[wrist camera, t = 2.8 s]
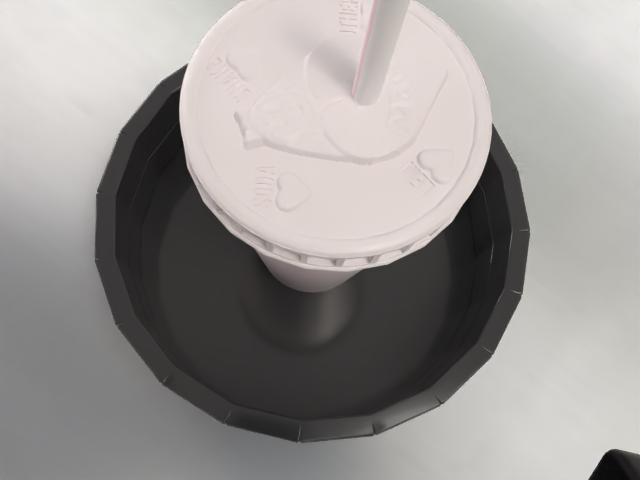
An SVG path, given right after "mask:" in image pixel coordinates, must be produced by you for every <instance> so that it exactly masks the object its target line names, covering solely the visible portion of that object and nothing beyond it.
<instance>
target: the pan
mask: <svg viewBox="0 0 640 480" xmlns="http://www.w3.org/2000/svg"><path fill="white" fill-rule="evenodd" d="M188 64H189V63H188ZM188 64H186V65H185V66H183V67H182V68H180V69H179V70H177V71H176V72H174V73H173V74H171V75H170V76H168V77H167V78H165V79H164V80H162V81H161V82H160V84H158V85H157V86H156V87H155V88H154V90H153V91H152V92H151V93H150V95H149V96H148V97H147V98H146V99H145V101H144V102H143V103H142V104H141V106H140V107H139V108H138V109H137V111H136V112H135V113H134V114H133V116H132V117H131V118H130V119H129V120H128V122H127V123H126V124H125V125H124V127H123V128H122V129H121V131H120V132H121V133H119V134H118V137H117V139H116V142H115V145H114V147H113V150H112V153H111V155H110V158H109V161H108V163H107V166H106V169H105V171H104V174H103V177H102V179H101V182H100V184H99V187H98V190H97V192H98V193H97V194H96V226H95V263H96V266H97V269H98V272H99V275H100V278H101V281H102V284H103V287H104V290H105V293H106V296H107V299H108V302H109V305H110V309H111V312H112V315H113V318H114V321H115V324H116V325H117V326H118V329H119V330H120V331H121V333H122V334H123V335H124V337H125V338H126V339H127V340H128V342H129V343H130V344H131V346H132V347H133V348H134V349H135V351H136V352H137V353H138V355H139V356H140V357H141V358H142V360H143V361H144V362H145V364H146V365H147V366H148V368H149V369H150V370H151V371H152V373H153V374H154V375H155V377H156V378H157V379H158V380H159V382H161V383H162V384H163V385H164V386H165V387H167V388H168V389H170V390H171V391H173V392H174V393H176V394H178V395H179V396H181V397H182V398H184V399H185V400H187V401H188V402H190V403H191V404H193V405H195V406H196V407H198V408H199V409H201V410H202V411H204V412H205V413H207V414H209V415H210V416H212V417H213V418H215V419H216V420H218V421H219V422H221V423H223V424H226V425H227V426H231V427H235V428H239V429H243V430H247V431H252V432H256V433H260V434H264V435H268V436H272V437H276V438H280V439H285V440H289V441H293V442H299V441H300V442H301V443H306V442H317V441H327V440H338V439H348V438H359V437H369V436H374V435H378V434H380V433H383V432H385V431H387V430H389V429H391V428H393V427H396V426H398V425H400V424H402V423H404V422H407V421H409V420H411V419H413V418H415V417H417V416H420V415H422V414H424V413H426V412H428V411H430V410H433V409H435V408H437V407H439V406H440V405H441V404H444V403H445V402H446V401H447V400H448V399H449V398H450V397H451V396H452V395H453V394H454V393H455V392H456V391H457V390H458V389H459V388H460V387H461V386H462V385H463V384H464V383H465V382H467V381H468V380H469V379H470V378H471V377H472V376H473V375H474V374H475V373H476V372H477V371H478V370H479V369H480V368H481V367H482V366H483V365H484V364H485V363H486V362H487V361H488V360H489V359H490V358H491V357H492V356H491V355H493V354H494V352H495V350H496V348H497V346H498V344H499V342H500V340H501V338H502V336H503V334H504V332H505V330H506V328H507V326H508V324H509V322H510V320H511V318H512V316H513V314H514V312H515V310H516V308H517V306H518V304H519V302H520V299H521V295H522V294H523V286H524V278H525V270H526V262H527V254H528V246H529V238H530V232H529V231H530V227H529V222H528V217H527V212H526V207H525V202H524V197H523V192H522V187H521V182H520V177H519V172H518V171H517V167H516V165H515V163H514V161H513V160H512V158H511V156H510V154H509V152H508V151H507V149H506V147H505V145H504V143H503V141H502V140H501V138H500V136H499V134H498V132H497V130H496V129H495V127H494V125H493V123H492V135H491V143H490V149H489V153H488V157H487V161H486V164H485V166H484V169H483V172H482V174H481V176H480V178H479V180H478V182H477V184H476V186H475V188H474V189H473V191H472V193H471V194H470V196H469V197H468V199H467V200H466V201H465V202H464V203H463V205H462V207H461V208H460V210H459V212H458V213H457V215H456V216H455V218H454V220H453V221H452V222H451V223H450V224H449V225H448V226H447V227H446V228H445V229H443V230H442V231H441V232H440V233H439V234H438V235H437V236H436V237H434V238H433V239H432V240H431V241H430V242H429V243H428V244H427V245H426V246H424V247H423V248H421V249H419V250H417V251H415V252H412V253H410V254H408V255H406V256H404V257H402V258H400V259H398V260H396V261H394V262H392V263H390V264H388V265H382V266H377V267H372V268H366V269H362V270H361V271H359V272H358V273H356V274H355V275H353V276H352V277H350V278H349V279H347V280H346V281H344V282H343V283H341V284H340V285H338V286H336V287H334V288H332V289H330V290H326V291H322V292H314V293H313V292H302V291H298V290H295V289H292V288H290V287H288V286H286V285H284V284H283V283H281V282H280V281H279V280H277V279H276V278H275V277H274V276H273V275H272V273H271V272H270V271H269V269H268V268H267V267H266V265H265V264H264V262H263V261H262V259H261V258H260V256H259V255H258V253H257V252H256V250H255V249H254V248H253V247H251V246H250V245H248V244H247V243H245V242H244V241H242V240H241V239H239V238H238V237H236V236H235V235H233V234H232V233H230V232H229V230H228V229H227V228H226V227H225V226H224V225H223V224H222V222H221V221H220V220H219V219H218V218H217V217H216V216H215V214H214V213H213V212H212V211H211V210H210V209H209V208H208V207H207V205H206V204H205V203H204V202H203V200H202V197H201V195H200V193H199V191H198V189H197V187H196V185H195V183H194V181H193V178H192V176H191V174H190V172H189V170H188V168H187V162H186V156H185V149H184V143H183V139H182V134H181V127H180V113H179V105H180V94H181V88H182V83H183V79H184V76H185V73H186V69H187V66H188Z"/></svg>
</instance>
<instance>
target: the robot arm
mask: <svg viewBox="0 0 640 480" xmlns="http://www.w3.org/2000/svg"><path fill="white" fill-rule="evenodd" d="M588 480H640V455H639V454H635V453H631V452H627V451H622V450H618V449H612V450H609V451H608V452H606V453H605V454H604V456H603V457H602V459H601V460H600V462H599V464H598V465H597V467H596V468H595V470H594V471H593V473H592V475H591V476H590V478H589V479H588Z"/></svg>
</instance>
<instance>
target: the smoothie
mask: <svg viewBox="0 0 640 480" xmlns="http://www.w3.org/2000/svg"><path fill="white" fill-rule="evenodd" d="M179 113H180V127H181V134H182V139H183V143H184V149H185V156H186V162H187V168H188V170H189V172H190V174H191V176H192V178H193V181H194V183H195V185H196V187H197V189H198V191H199V193H200V195H201V197H202V200H203V202H204V203H205V204H206V205H207V207H208V208H209V209H210V210H211V211H212V212H213V213H214V214H215V216H216V217H217V218H218V219H219V220H220V221H221V222H222V224H223V225H224V226H225V227H226V228H227V229H228V230H229V232H230V233H232V234H233V235H235V236H236V237H238V238H239V239H241V240H242V241H244V242H245V243H247V244H248V245H250V246H251V247H253V248H254V249H255V250H256V252H257V253H258V255H259V256H260V258H261V259H262V261H263V262H264V264H265V265H266V267H267V268H268V269H269V271H270V272H271V273H272V275H273V276H274V277H275V278H276V279H277V280H279V281H280V282H281V283H283V284H284V285H286V286H288V287H290V288H292V289H295V290H298V291H302V292H313V293H314V292H322V291H326V290H330V289H332V288H334V287H336V286H338V285H340V284H341V283H343V282H344V281H346V280H347V279H349V278H350V277H352V276H353V275H355V274H356V273H358V272H359V271H361V270H362V269H366V268H372V267H377V266H382V265H388V264H390V263H392V262H394V261H396V260H398V259H400V258H402V257H404V256H406V255H408V254H410V253H412V252H415V251H417V250H419V249H421V248H423V247H424V246H426V245H427V244H428V243H429V242H430V241H431V240H432V239H433V238H434V237H436V236H437V235H438V234H439V233H440V232H441V231H442V230H443V229H445V228H446V227H447V226H448V225H449V224H450V223H451V222H452V221H453V220H454V218H455V216H456V215H457V213H458V212H459V210H460V208H461V207H462V205H463V203H464V202H465V201H466V200H467V199H468V197H469V196H470V194H471V193H472V191H473V189H474V188H475V186H476V184H477V182H478V180H479V178H480V176H481V174H482V172H483V169H484V166H485V164H486V161H487V157H488V153H489V149H490V143H491V135H492V115H491V105H490V100H489V95H488V91H487V88H486V84H485V81H484V78H483V76H482V74H481V71H480V69H479V67H478V65H477V63H476V61H475V59H474V57H473V56H472V54H471V53H470V51H469V50H468V48H467V47H466V45H465V44H464V42H463V41H462V40H461V39H460V37H459V36H458V35H457V34H456V33H455V32H454V31H453V30H452V29H451V28H450V27H449V25H448V24H447V23H445V22H444V21H443V20H442V19H441V18H440V17H439V16H437V15H436V14H435V13H433V12H432V11H431V10H429V9H428V8H427V7H425V6H424V5H422V4H420V3H419V2H417V1H415V0H243V1H242V2H240V3H239V4H237V5H236V6H234V7H233V8H232V9H230V10H229V11H228V12H227V13H225V14H224V15H223V16H222V17H221V18H220V19H219V20H218V21H217V22H216V23H215V24H214V25H213V26H212V27H211V28H210V29H209V31H208V32H207V33H206V34H205V36H204V37H203V39H202V40H201V41H200V43H199V45H198V46H197V48H196V50H195V51H194V53H193V55H192V57H191V60H190V62H189V64H188V66H187V69H186V73H185V76H184V79H183V83H182V88H181V94H180V105H179Z"/></svg>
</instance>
